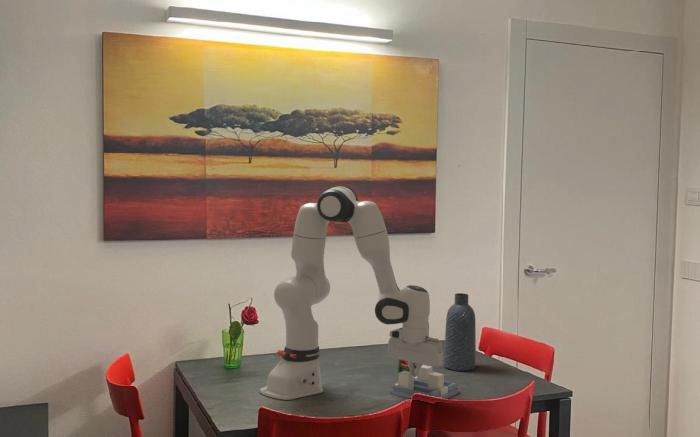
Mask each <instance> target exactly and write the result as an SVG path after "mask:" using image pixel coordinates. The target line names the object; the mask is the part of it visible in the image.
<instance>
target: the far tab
mask: <svg viewBox="0 0 700 437" xmlns="http://www.w3.org/2000/svg"><path fill="white" fill-rule="evenodd" d="M433 369H434V367H431V366H426V365H422V367H421V368H420V370H419V375H418V376H417V380H421V381H425V382H428V374H430V373H433V372H434V371H433Z"/></svg>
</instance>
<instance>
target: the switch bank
mask: <svg viewBox="0 0 700 437" xmlns="http://www.w3.org/2000/svg"><path fill="white" fill-rule="evenodd" d="M458 385H459V384H458V383H456V382H451V381H446V380H444V387H443V388H440V389H439V390H435V389H431V388H428V382H425V381H421V380H417V376H416V377H414V390H411V389H407V388H403V387H399V386H398V382H396V383H394V385H393V386H392V389H390V394H391V395H394V396H399V397H403V398H406V399H410V398H411V396H412V395H413V394H414V393H421V394H425V395H429V396H435V397H442V398H446V399H449V398H451V397H453V396H455V395H458V394H460V393H461V388H458V387H459V386H458Z"/></svg>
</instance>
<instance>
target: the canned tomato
mask: <svg viewBox="0 0 700 437" xmlns="http://www.w3.org/2000/svg"><path fill="white" fill-rule="evenodd" d="M397 360H398V364H397V365H398V366H397V374H398V373H399V372H402V371H408V372H410V369H409V367H408V364H407V361H404V360H400V359H397ZM413 365H414V368H415V369H416V367H417V366H415V363H414V364H413ZM414 377H416V376H414Z"/></svg>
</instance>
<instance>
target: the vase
mask: <svg viewBox="0 0 700 437" xmlns="http://www.w3.org/2000/svg"><path fill="white" fill-rule="evenodd" d="M444 332H445V333H444V349H443V350H444V351H443V368H446V369H447V370H450V371H454V370H455V372H456V371H457V372H469V371H473V370H474V369H475V368H476V365H477V364H476V361H477V359H476V349H477V348H476V346H477V345H476V343H477V340H476V314H475V311H474V308H473V307H472V306H471V305H470V304H469V294H468V293H460V292H459V293H455V294H454V303H453V304H452V305H451V306H450V307H449V308H448V310H447V313H446V319H445V330H444Z"/></svg>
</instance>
